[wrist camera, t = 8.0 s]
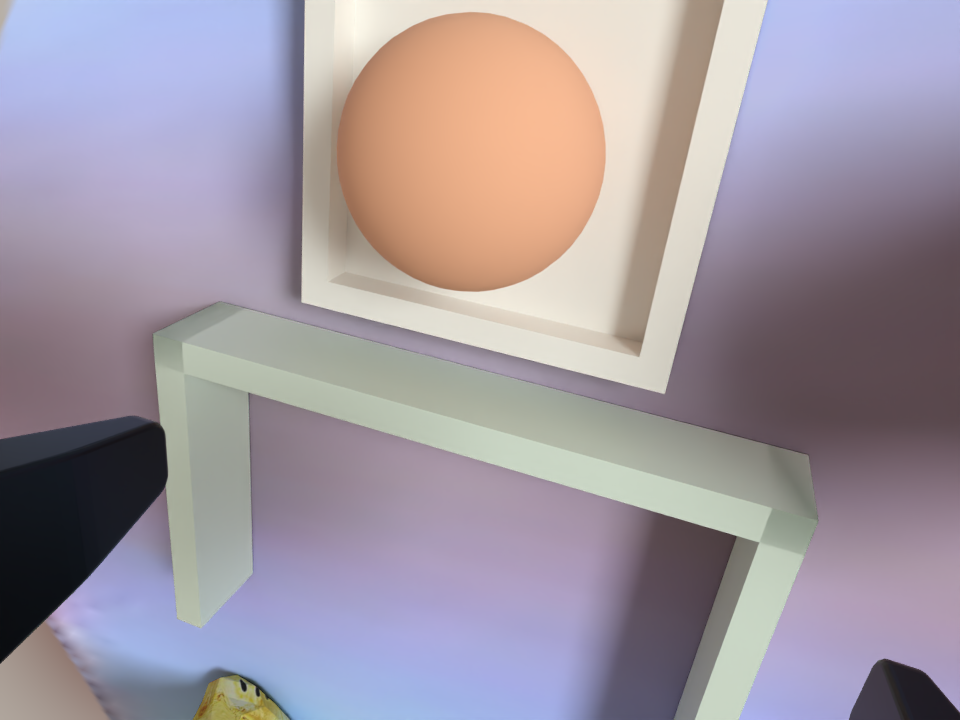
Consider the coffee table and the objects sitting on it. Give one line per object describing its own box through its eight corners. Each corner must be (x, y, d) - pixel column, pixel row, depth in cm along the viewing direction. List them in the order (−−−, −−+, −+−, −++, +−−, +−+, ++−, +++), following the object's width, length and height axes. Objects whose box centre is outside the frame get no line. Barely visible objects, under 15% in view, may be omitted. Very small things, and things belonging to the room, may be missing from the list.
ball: (598, 275, 18) (547, 358, 13) (396, 232, 19) (281, 293, 15) (646, 34, 16) (607, 28, 11) (412, 3, 17) (282, -16, 12)
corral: (702, 737, 23) (696, 823, 21) (230, 565, 28) (177, 618, 25) (808, 455, 19) (818, 521, 16) (219, 301, 23) (152, 333, 20)
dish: (670, 370, 19) (664, 394, 18) (328, 287, 21) (301, 302, 20) (786, -75, 15) (790, -88, 13) (339, -115, 17) (306, -129, 16)
